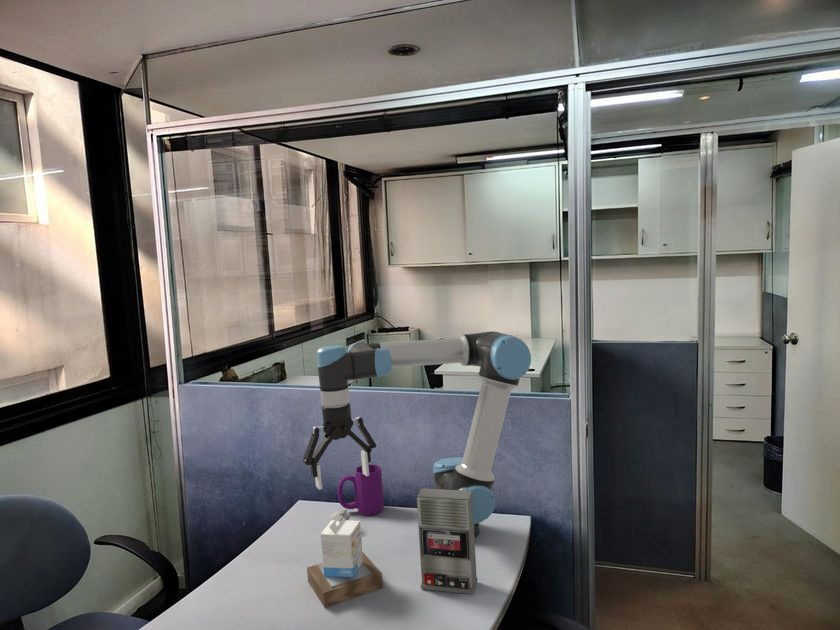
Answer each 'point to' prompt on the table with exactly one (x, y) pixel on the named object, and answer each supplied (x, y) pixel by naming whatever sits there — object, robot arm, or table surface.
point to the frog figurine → (340, 512)
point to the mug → (365, 491)
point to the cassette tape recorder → (447, 540)
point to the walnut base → (344, 583)
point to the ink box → (341, 548)
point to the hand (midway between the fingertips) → (343, 481)
